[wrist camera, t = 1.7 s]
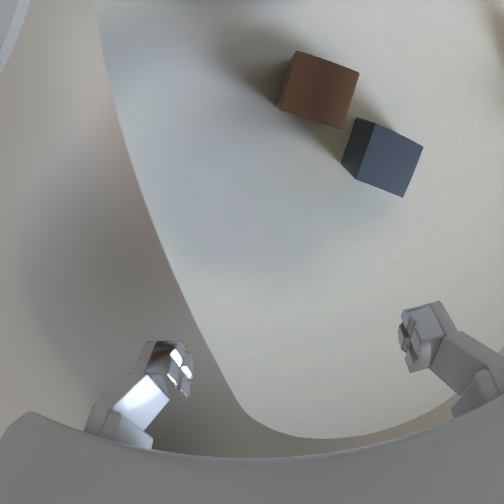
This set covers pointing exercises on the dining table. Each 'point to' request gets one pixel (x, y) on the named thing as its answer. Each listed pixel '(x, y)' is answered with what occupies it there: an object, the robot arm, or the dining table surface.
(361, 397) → the dining table surface
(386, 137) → the slate cube
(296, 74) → the walnut cube
